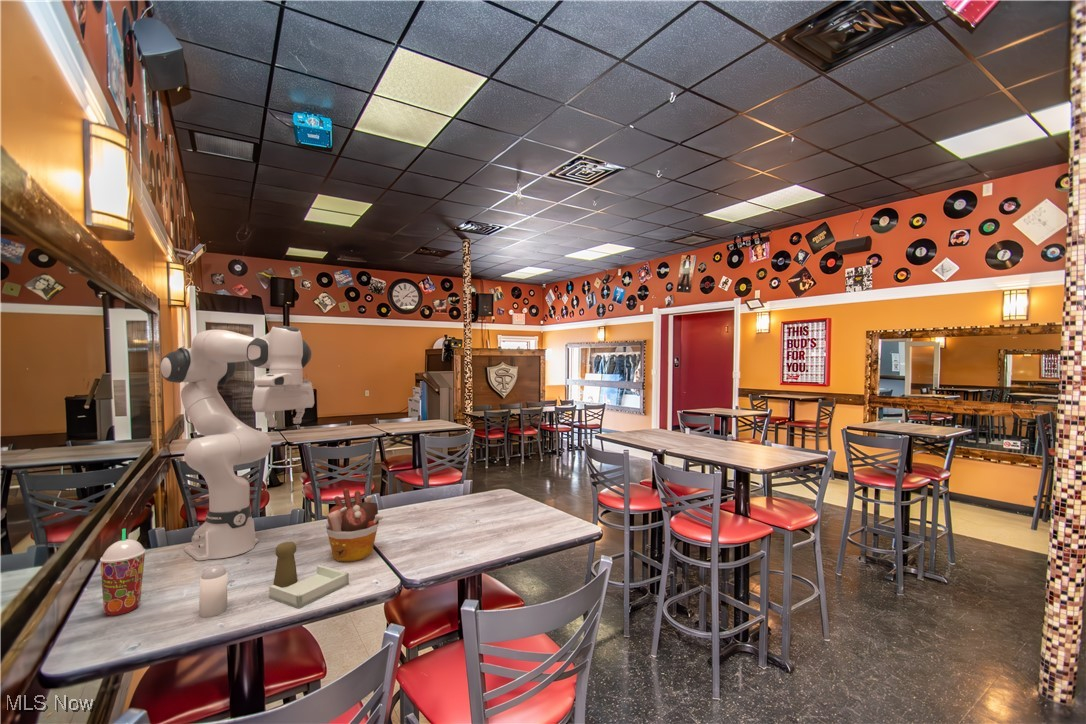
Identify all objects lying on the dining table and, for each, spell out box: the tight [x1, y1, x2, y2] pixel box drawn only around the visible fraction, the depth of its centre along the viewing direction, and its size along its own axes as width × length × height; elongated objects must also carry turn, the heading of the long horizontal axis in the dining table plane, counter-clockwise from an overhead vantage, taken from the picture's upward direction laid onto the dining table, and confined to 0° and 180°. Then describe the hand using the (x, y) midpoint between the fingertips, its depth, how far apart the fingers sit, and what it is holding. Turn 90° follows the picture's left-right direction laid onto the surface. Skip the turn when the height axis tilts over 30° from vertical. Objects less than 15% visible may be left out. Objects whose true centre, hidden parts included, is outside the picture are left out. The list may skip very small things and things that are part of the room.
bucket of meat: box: [325, 487, 384, 563], centre depth 148 cm, size 20×16×20 cm
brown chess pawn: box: [272, 541, 299, 588], centre depth 129 cm, size 6×6×11 cm
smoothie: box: [99, 528, 146, 617], centre depth 114 cm, size 8×8×20 cm
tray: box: [268, 564, 350, 609], centre depth 124 cm, size 12×15×3 cm
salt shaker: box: [198, 564, 229, 619], centre depth 113 cm, size 6×6×11 cm
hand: (285, 425), depth 138 cm, fingers open, 8 cm apart
